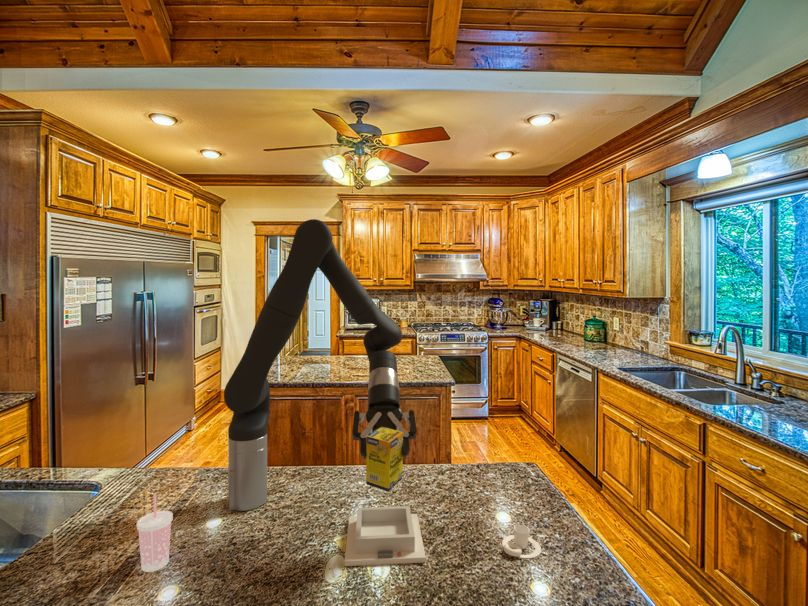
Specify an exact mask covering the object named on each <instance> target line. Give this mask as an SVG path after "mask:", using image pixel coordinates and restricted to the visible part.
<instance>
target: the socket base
mask: <svg viewBox="0 0 808 606" xmlns="http://www.w3.org/2000/svg"><path fill="white" fill-rule="evenodd" d="M421 531H422V530H421V527H420V521H419V517H418V513H411V507H410V505H405V506H404V505H401V506H400V505H398V506H397V505H396V506H378V507H377V506H373V507H372V506H371V507H357V512H356V515H350V516H349V517H348V527H347V535H346V544H345V553H344V565H343V566H344V567H354V566H356V567H357V566H374V565H375V566H376V565H377V566H378V565H379V566H380V565H381V566H382V565H399V564H401V565H402V564H418V563H419V564H420V563H421V564H422V563H426V561H427V559H426V558H427V557H426V552H425V548H424V542H423V538H422V537H423V536H422V532H421Z"/></svg>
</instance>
